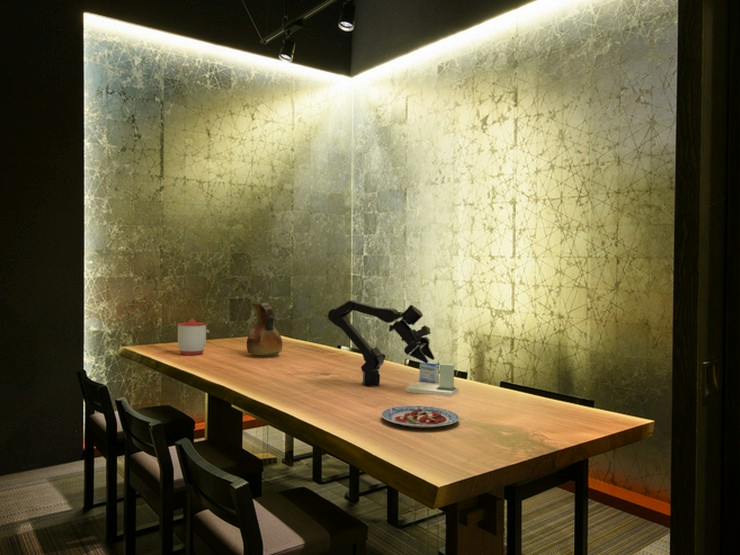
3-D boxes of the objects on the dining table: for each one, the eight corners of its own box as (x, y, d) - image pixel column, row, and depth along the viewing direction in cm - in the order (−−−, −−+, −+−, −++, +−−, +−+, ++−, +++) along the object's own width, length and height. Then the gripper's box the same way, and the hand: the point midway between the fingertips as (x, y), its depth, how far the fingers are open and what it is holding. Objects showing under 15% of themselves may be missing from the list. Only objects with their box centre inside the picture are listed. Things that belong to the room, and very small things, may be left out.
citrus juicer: (212, 355, 321) (213, 319, 320) (180, 356, 312) (180, 320, 312) (205, 351, 334) (205, 316, 334) (174, 352, 326) (174, 317, 325)
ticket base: (405, 391, 236) (405, 386, 236) (414, 386, 247) (414, 381, 247) (451, 396, 228) (451, 391, 228) (458, 390, 240) (458, 385, 240)
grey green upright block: (439, 389, 235) (439, 364, 234) (441, 387, 238) (442, 363, 238) (451, 390, 233) (452, 365, 233) (453, 388, 236) (454, 364, 236)
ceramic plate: (410, 408, 209) (410, 400, 209) (473, 421, 193) (473, 412, 193) (364, 421, 189) (365, 412, 189) (430, 437, 173) (430, 427, 173)
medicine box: (418, 381, 258) (419, 362, 258) (422, 379, 262) (423, 360, 262) (435, 383, 254) (435, 363, 254) (439, 381, 258) (439, 362, 258)
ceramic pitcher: (270, 352, 336) (271, 300, 335) (289, 356, 320) (290, 302, 320) (240, 354, 323) (240, 301, 323) (257, 359, 308) (258, 303, 307)
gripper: (412, 321, 231) (438, 350, 227) (425, 318, 248) (450, 345, 244) (393, 339, 234) (418, 369, 230) (407, 335, 251) (431, 362, 247)
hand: (430, 360), depth 238 cm, fingers open, 9 cm apart
